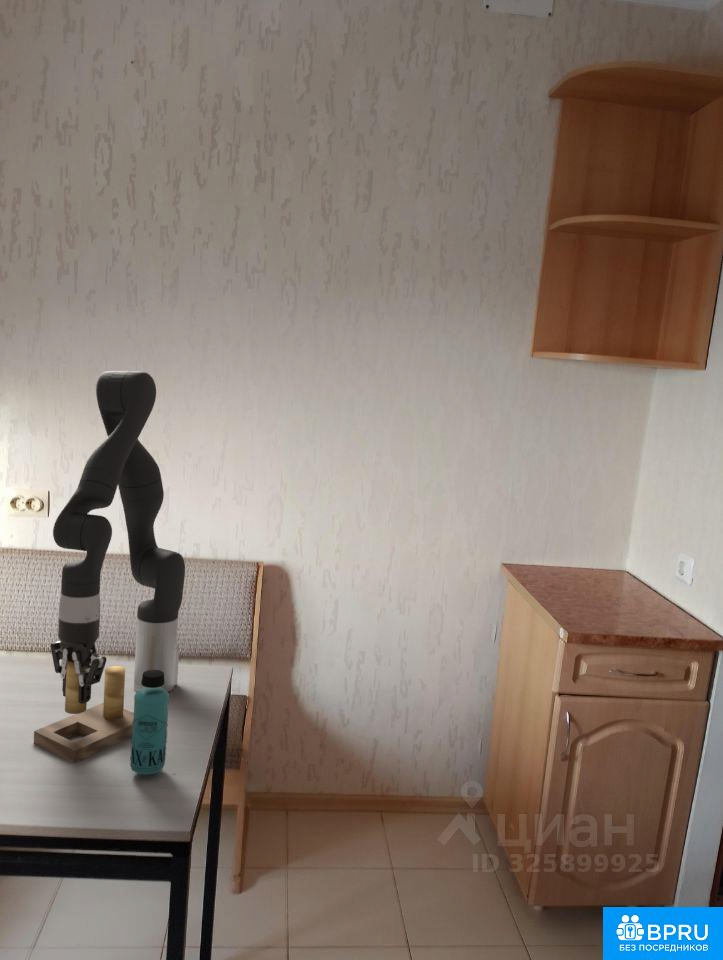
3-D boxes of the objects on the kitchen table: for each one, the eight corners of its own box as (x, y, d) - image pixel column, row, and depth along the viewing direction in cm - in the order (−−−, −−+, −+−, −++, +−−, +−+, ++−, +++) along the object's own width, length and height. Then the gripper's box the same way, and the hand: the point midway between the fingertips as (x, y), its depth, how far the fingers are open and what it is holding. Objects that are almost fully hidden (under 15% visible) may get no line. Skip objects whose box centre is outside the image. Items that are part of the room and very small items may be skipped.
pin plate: (106, 712, 171) (108, 657, 169) (145, 729, 165) (148, 672, 163) (33, 742, 156) (35, 682, 154) (74, 763, 150) (76, 700, 148)
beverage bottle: (127, 766, 150) (132, 666, 147) (163, 763, 152) (169, 664, 149) (130, 784, 144) (135, 680, 141) (167, 780, 146) (173, 678, 143)
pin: (77, 703, 158) (79, 655, 157) (90, 709, 156) (92, 661, 155) (60, 709, 155) (62, 661, 154) (74, 715, 153) (76, 666, 152)
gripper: (120, 619, 153) (116, 703, 155) (71, 602, 160) (68, 683, 162) (88, 628, 146) (85, 716, 149) (39, 610, 153) (36, 694, 156)
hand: (76, 698), depth 155 cm, fingers closed on pin, 4 cm apart
